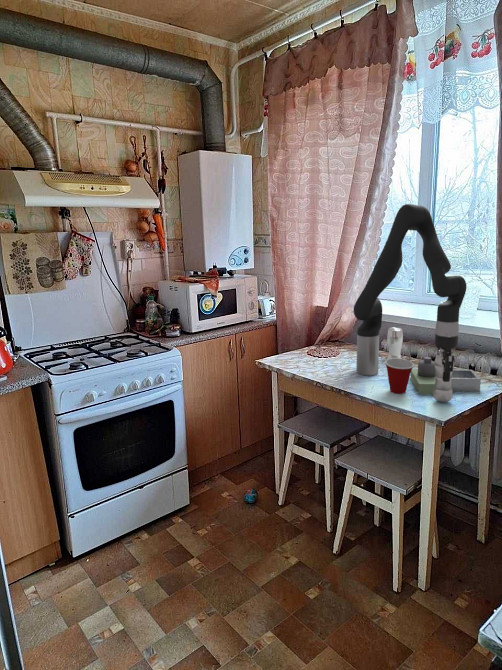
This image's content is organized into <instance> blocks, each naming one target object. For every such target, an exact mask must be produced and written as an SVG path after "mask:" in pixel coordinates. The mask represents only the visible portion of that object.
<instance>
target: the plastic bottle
mask: <svg viewBox="0 0 502 670" xmlns="http://www.w3.org/2000/svg"><path fill="white" fill-rule="evenodd" d="M440 352H443V349H442V348H440V351H439V353H440ZM443 360H444V359H443ZM434 361H435V373H436V379H435V386H434V389H433V394H432V397H433V399H434V400H435V401H437V402H441V403H446V402H450V401H451V400H452V399H453V395H454V391H452V373H453V372H450V381H449V382H444V381H443V365H442V361H441V357H440V354H439V355H438V356H436V358H435V359H434ZM444 363H445V360H444ZM447 368H449V366H447ZM454 368H455V361H454V364H453V369H454Z"/></svg>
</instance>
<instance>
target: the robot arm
mask: <svg viewBox="0 0 502 670" xmlns="http://www.w3.org/2000/svg"><path fill="white" fill-rule="evenodd" d="M408 231H414V232H415V231H416V232H417V233H418V234H419V236H420V237H421V239H422V257H423V261H424V263H425V265H426V266H427V268H428V270H429V273H430V279H431V283H432V284H431V285H432V290H433V292H434V294H436V296H437V297H440V298H447V299H446V300H445V301H444V302H442V303H440V304H438V306H437V310H436V322H435V329H434V330H435V331H434V332H435V334H434V346H435V347H436V348H437V351H436V352H437V354H436V355H437V356H438V355H439V354H440V357H441V361H442V365H443V381H444V382H449V381H450V372H453V370H454V368H453V364H454V365H455V363H454V362H455V355H454V354H453V352H452V350H453V349H455V348H457V347H458V344H459V331H460V327H459V326H460V325H459V322H460V321H459V320H460V317H459V316H460V310H461V307H462V304H463V301H464V298H465V295H466V292H467V282H466V280H465V278H464V277H463V276H461V275H446V274H448V273H449V272H450V270H451V268H452V265H451V262H450V260H449V259H448V257H447V255H446V253H445V251H444V250H443V247H442V245H441V243H440V240H439V237H438V234H437V231H436V227H435V225H434V221H433V218H432V215H431V213H430V211H429V208H428V207H426V206H424V205H419V204H410V203H406V204H404V205H402V206H401V207H400V208H399V209H398V211H397V213H396V215H395V218H394V220H393V223H392V226H391V229H390V232H389V234H388V237H387V240H386V241H385V244H384V246H383V249H382V251H381V252H380V254H379V256H378V259H377V260H376V262H375V264H374V267H373V270H372V271H371V274H370V275H369V278H368V280H367V282H366V284H365V286H364V287H363V290H362V291H361V293H360V294H359V296H358V298H357V299H356V301H355V303H354V305H353V315H354V317H355V318H356V319H357V320H358V321H362V323H361V324H360V325H359V326H358V327H357V330H356V332H357V333H356V334H357V335H356V364H355V365H356V369H355V370H356V373H357V374H356V375H362V376H375V375H378V374H379V357H380V355H379V354H380V352H379V351H380V330H381V328H382V325H383V324H382V322H383V305H382V302H381V300H380V298H379V296H380V295H381V293H383V291H384V290H385V289H387V287H388V286H389V285H390V284H391V283H392V282H393V281H394V280H395V278H396V276H397V274H398V273H399V271H400V269H401V267H402V266H403V265H402V264H403V250H402V249H403V247H402V245H403V242H404V239H405V237H406V235H407V233H408ZM440 348H442V349H443V352H440V353H439V351H440ZM437 356H436V357H437ZM443 359H444V360H445V363H444V360H443ZM447 366H449V368H447Z"/></svg>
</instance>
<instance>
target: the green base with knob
mask: <svg viewBox="0 0 502 670" xmlns="http://www.w3.org/2000/svg"><path fill="white" fill-rule="evenodd" d="M409 379H410V380H411V382H412V383H413V386H414V388H415V389H416V392H417V394H419V395H433V389H434V386H435V379H436V373H435V360H432V358H431V356H423V359H421V360H418V362H417V368H412V370H411V373H410V377H409Z"/></svg>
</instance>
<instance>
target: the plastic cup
mask: <svg viewBox="0 0 502 670" xmlns="http://www.w3.org/2000/svg"><path fill="white" fill-rule="evenodd" d="M384 364H385V366H386V372H387V377H388V384H389V385H388V386H389V390H390V392H391V393H393V394H397V395H402V394H405V393H407V392H406V391H407V388H408V384H409V381H410V377H411V370H412V369H414V368H415V367H414V366H415V364H414V362H413V361H411V360H408V359H405V358H401V359H398V358H391V359H388V358H387V359H385V360H384Z"/></svg>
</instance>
